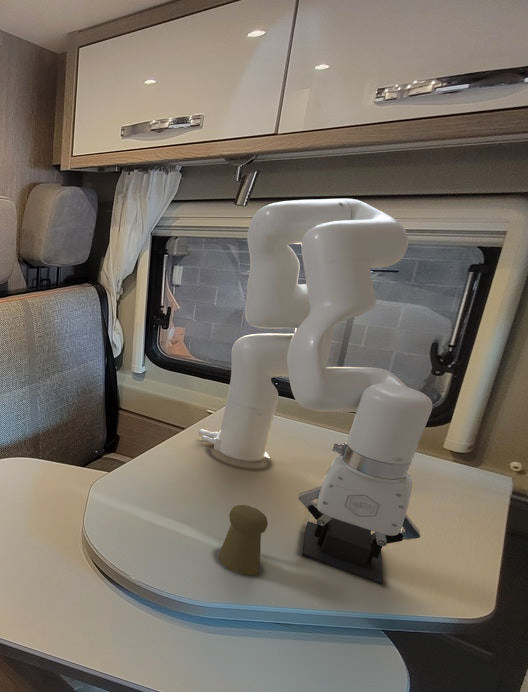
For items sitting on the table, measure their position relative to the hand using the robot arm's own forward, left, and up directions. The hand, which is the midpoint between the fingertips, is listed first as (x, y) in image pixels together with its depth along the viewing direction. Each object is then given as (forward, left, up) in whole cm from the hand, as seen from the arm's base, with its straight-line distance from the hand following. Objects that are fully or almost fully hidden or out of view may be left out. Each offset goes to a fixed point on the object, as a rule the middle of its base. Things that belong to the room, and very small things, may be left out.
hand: (343, 548), depth 78 cm
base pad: (0, 0, -1) cm, 1 cm away
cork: (-13, -14, -1) cm, 19 cm away
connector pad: (0, 0, 0) cm, 0 cm away
